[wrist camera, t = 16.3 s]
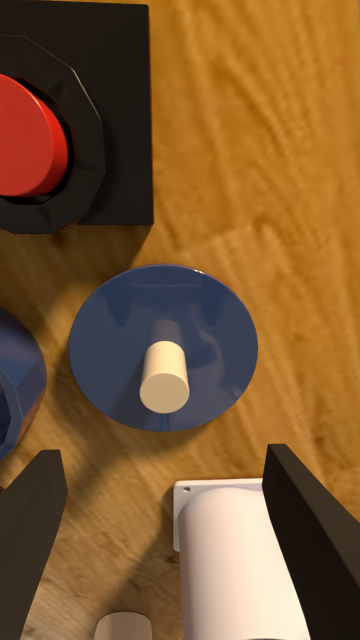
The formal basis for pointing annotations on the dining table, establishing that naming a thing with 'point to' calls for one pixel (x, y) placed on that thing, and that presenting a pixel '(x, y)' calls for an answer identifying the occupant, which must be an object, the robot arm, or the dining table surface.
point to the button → (29, 143)
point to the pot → (18, 381)
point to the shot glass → (124, 627)
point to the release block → (85, 109)
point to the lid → (163, 347)
